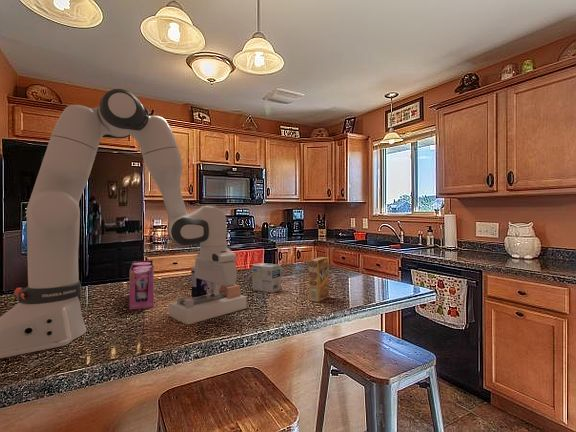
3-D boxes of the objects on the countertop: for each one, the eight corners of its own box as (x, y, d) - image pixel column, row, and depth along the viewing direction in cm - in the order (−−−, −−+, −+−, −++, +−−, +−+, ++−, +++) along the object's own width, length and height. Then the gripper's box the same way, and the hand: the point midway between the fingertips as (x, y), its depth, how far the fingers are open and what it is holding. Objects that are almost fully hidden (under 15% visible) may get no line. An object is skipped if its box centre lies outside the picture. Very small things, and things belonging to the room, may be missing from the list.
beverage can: (202, 300, 123) (202, 268, 122) (188, 299, 124) (188, 267, 123) (209, 296, 128) (208, 265, 128) (195, 295, 129) (195, 265, 129)
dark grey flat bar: (186, 306, 100) (186, 303, 100) (180, 304, 103) (180, 300, 103) (231, 295, 112) (230, 292, 112) (224, 293, 115) (224, 290, 115)
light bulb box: (281, 289, 137) (281, 264, 137) (272, 293, 132) (272, 266, 132) (261, 286, 143) (261, 262, 143) (251, 290, 138) (251, 264, 137)
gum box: (154, 308, 113) (153, 269, 112) (128, 311, 110) (128, 271, 109) (154, 292, 135) (153, 259, 135) (132, 294, 132) (132, 261, 131)
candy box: (318, 302, 118) (318, 260, 118) (308, 300, 120) (308, 259, 120) (329, 297, 125) (329, 257, 125) (319, 295, 128) (319, 256, 127)
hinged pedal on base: (187, 324, 96) (187, 299, 96) (168, 315, 105) (168, 292, 104) (246, 308, 112) (246, 286, 112) (226, 301, 120) (225, 281, 120)
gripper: (189, 252, 114) (190, 291, 115) (223, 257, 100) (224, 302, 100) (205, 250, 119) (206, 288, 119) (239, 255, 105) (240, 298, 105)
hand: (214, 294), depth 110 cm, fingers closed
